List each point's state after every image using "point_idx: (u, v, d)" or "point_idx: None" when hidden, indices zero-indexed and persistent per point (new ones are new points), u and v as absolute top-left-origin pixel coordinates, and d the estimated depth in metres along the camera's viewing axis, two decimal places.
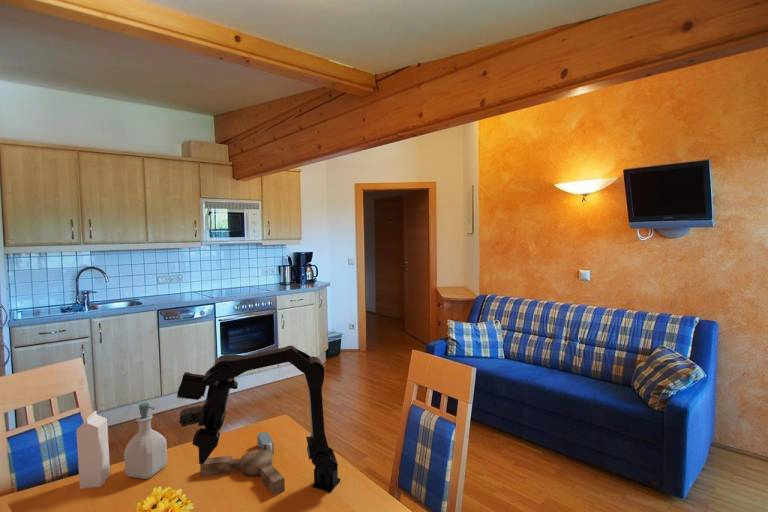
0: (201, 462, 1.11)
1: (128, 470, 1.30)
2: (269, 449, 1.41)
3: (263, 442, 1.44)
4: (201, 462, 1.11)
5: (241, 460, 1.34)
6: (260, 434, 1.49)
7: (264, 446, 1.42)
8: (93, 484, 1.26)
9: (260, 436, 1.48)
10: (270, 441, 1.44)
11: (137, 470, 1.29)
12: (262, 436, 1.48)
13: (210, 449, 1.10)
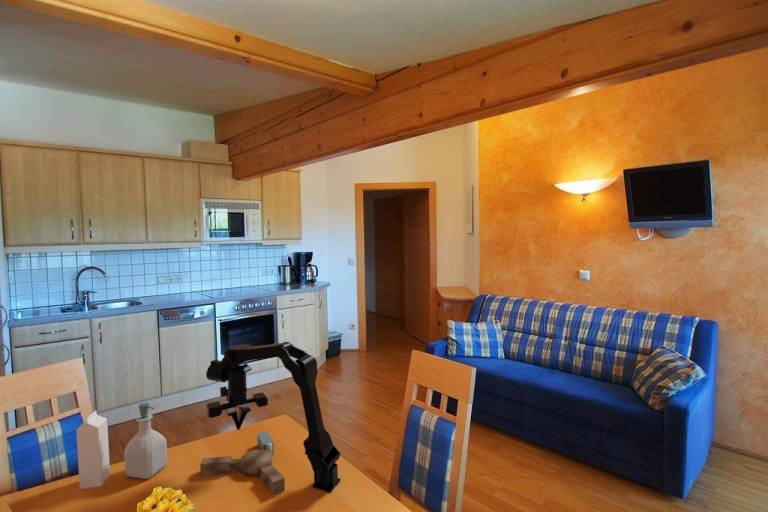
0: (237, 428, 1.37)
1: (128, 470, 1.30)
2: (269, 449, 1.41)
3: (263, 442, 1.44)
4: None
5: (241, 460, 1.34)
6: (260, 434, 1.49)
7: (264, 446, 1.42)
8: (93, 484, 1.26)
9: (260, 436, 1.48)
10: (270, 441, 1.44)
11: (137, 470, 1.29)
12: (262, 436, 1.48)
13: (233, 417, 1.34)
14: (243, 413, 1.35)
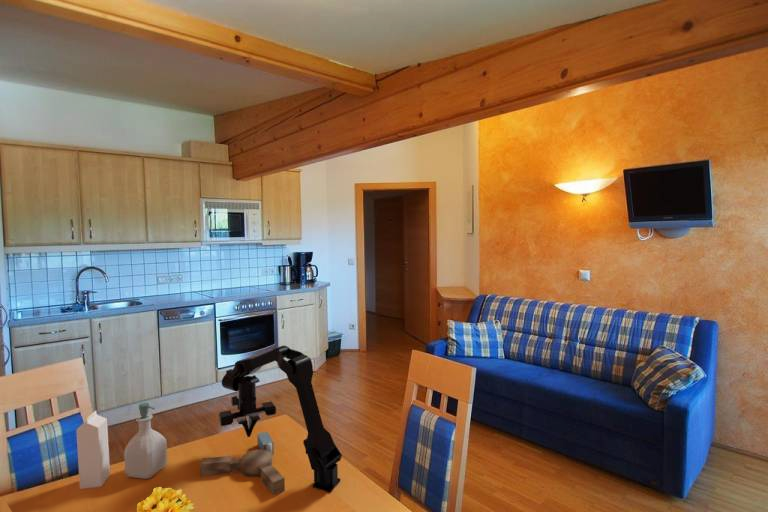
0: None
1: (128, 470, 1.30)
2: (269, 449, 1.41)
3: (263, 442, 1.44)
4: None
5: (241, 460, 1.34)
6: (260, 434, 1.49)
7: (264, 446, 1.42)
8: (93, 484, 1.26)
9: (260, 436, 1.48)
10: (270, 441, 1.44)
11: (137, 470, 1.29)
12: (262, 436, 1.48)
13: None
14: (253, 421, 1.43)
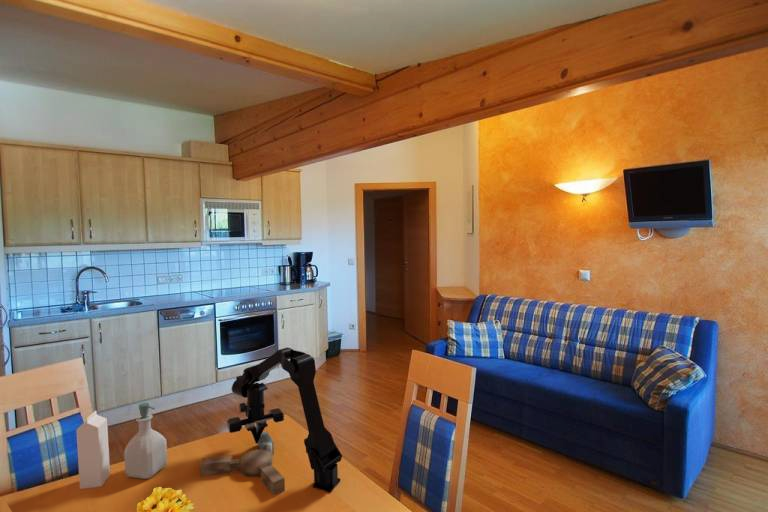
0: None
1: (128, 470, 1.30)
2: (269, 449, 1.41)
3: (263, 442, 1.44)
4: (255, 441, 1.47)
5: (241, 460, 1.34)
6: None
7: (264, 446, 1.42)
8: (93, 484, 1.26)
9: (260, 436, 1.48)
10: (270, 441, 1.44)
11: (137, 470, 1.29)
12: (263, 436, 1.48)
13: (252, 432, 1.44)
14: (261, 428, 1.44)
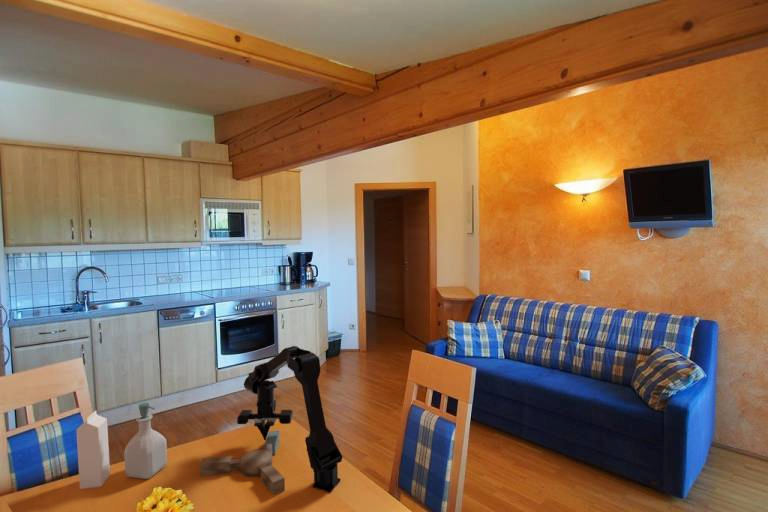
0: None
1: (128, 470, 1.30)
2: (268, 449, 1.41)
3: (266, 441, 1.45)
4: None
5: (241, 460, 1.34)
6: (271, 432, 1.51)
7: (265, 445, 1.43)
8: (93, 484, 1.26)
9: (269, 434, 1.49)
10: (273, 441, 1.44)
11: (137, 470, 1.29)
12: (271, 434, 1.49)
13: None
14: (266, 426, 1.46)
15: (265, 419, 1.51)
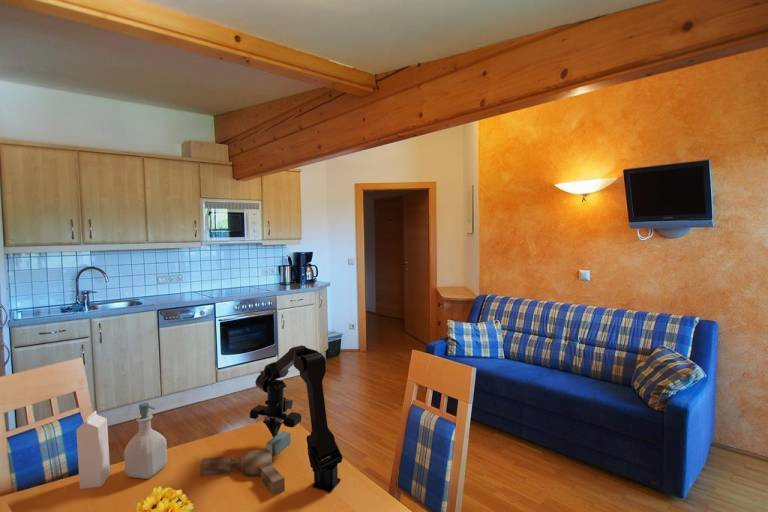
0: None
1: (128, 470, 1.30)
2: (267, 449, 1.41)
3: (271, 440, 1.45)
4: None
5: (241, 460, 1.34)
6: (282, 432, 1.51)
7: None
8: (93, 484, 1.26)
9: (279, 434, 1.49)
10: (275, 442, 1.44)
11: (137, 470, 1.29)
12: (280, 435, 1.49)
13: None
14: (273, 425, 1.46)
15: None
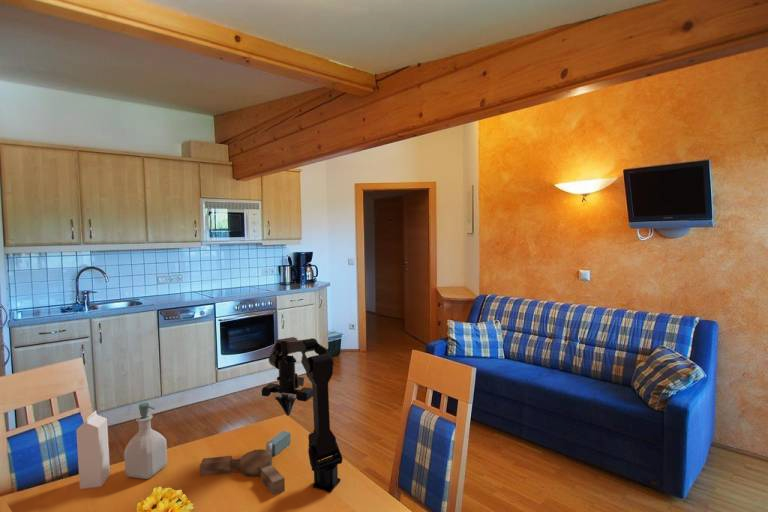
0: None
1: (128, 470, 1.30)
2: (267, 449, 1.41)
3: (271, 440, 1.45)
4: None
5: (241, 460, 1.34)
6: (282, 432, 1.51)
7: None
8: (93, 484, 1.26)
9: (279, 434, 1.49)
10: (275, 442, 1.44)
11: (137, 470, 1.29)
12: (280, 435, 1.49)
13: None
14: (286, 401, 1.45)
15: None
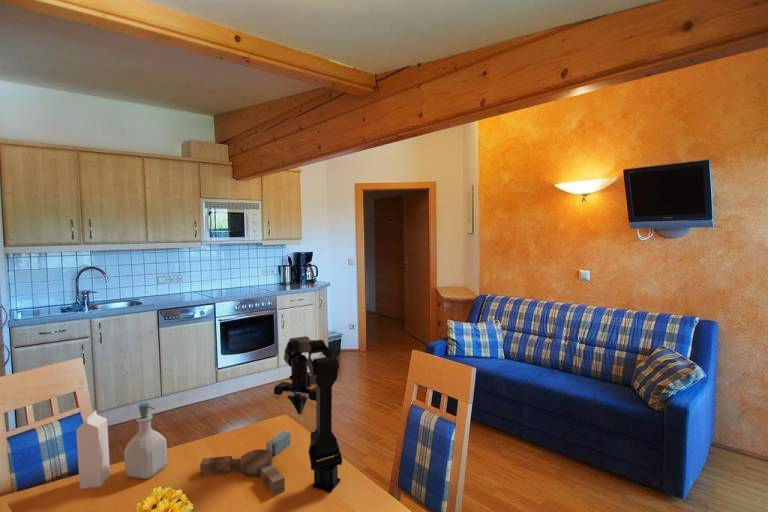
0: None
1: (128, 470, 1.30)
2: (267, 449, 1.41)
3: (271, 440, 1.45)
4: None
5: (241, 460, 1.34)
6: (282, 432, 1.51)
7: None
8: (93, 484, 1.26)
9: (279, 434, 1.49)
10: (275, 442, 1.44)
11: (137, 470, 1.29)
12: (280, 435, 1.49)
13: None
14: (298, 400, 1.45)
15: None
